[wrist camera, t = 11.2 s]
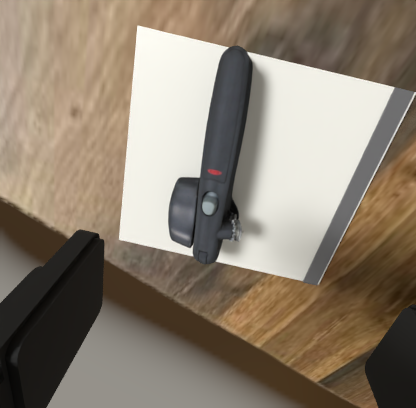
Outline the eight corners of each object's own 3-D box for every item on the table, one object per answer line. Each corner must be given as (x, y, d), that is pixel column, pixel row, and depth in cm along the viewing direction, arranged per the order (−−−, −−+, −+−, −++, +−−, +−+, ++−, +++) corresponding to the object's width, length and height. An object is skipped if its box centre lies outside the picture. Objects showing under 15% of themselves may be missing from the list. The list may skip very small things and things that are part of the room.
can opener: (232, 245, 31) (232, 282, 26) (167, 230, 31) (153, 265, 26) (287, 58, 23) (302, 59, 18) (198, 37, 22) (187, 32, 17)
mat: (412, 91, 23) (417, 92, 23) (317, 280, 32) (318, 285, 32) (139, 26, 23) (136, 25, 22) (120, 236, 32) (118, 240, 31)
